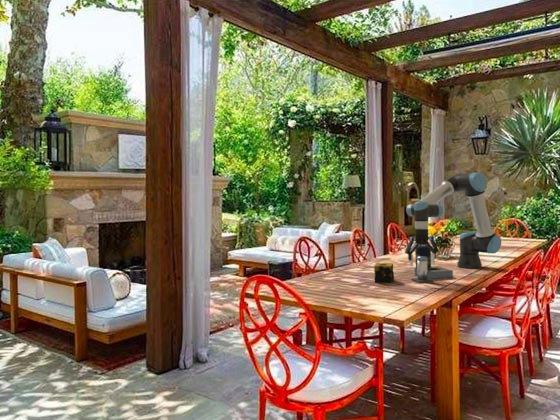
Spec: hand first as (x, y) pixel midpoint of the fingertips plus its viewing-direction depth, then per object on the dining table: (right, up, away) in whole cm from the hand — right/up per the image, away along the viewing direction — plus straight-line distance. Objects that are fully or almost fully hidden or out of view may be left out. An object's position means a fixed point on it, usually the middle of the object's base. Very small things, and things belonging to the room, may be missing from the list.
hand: (422, 265), depth 276 cm
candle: (-21, -10, +4) cm, 24 cm away
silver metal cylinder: (0, -8, 0) cm, 8 cm away
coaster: (0, -9, 0) cm, 9 cm away
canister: (+9, -8, +28) cm, 31 cm away
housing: (+11, -8, +13) cm, 19 cm away
